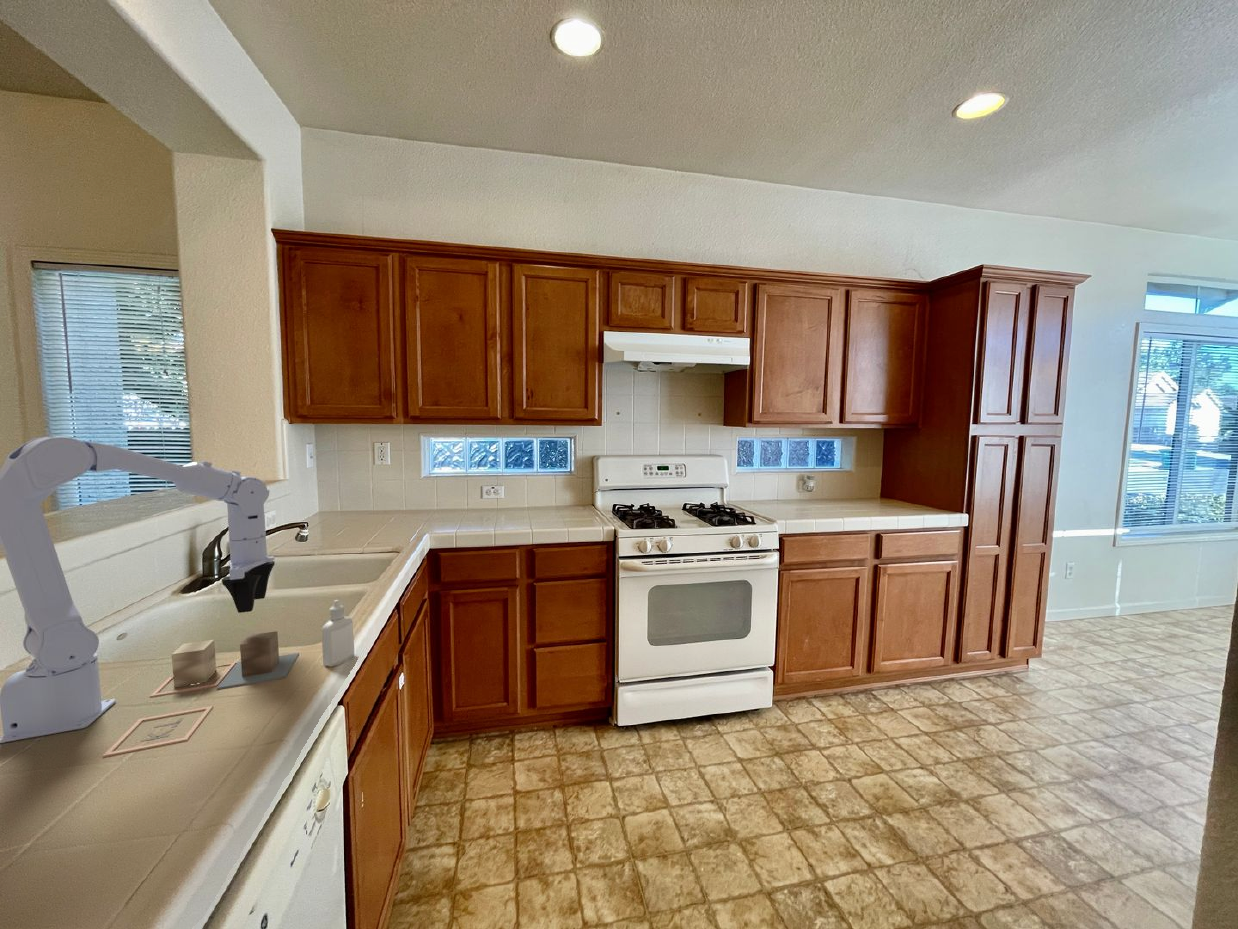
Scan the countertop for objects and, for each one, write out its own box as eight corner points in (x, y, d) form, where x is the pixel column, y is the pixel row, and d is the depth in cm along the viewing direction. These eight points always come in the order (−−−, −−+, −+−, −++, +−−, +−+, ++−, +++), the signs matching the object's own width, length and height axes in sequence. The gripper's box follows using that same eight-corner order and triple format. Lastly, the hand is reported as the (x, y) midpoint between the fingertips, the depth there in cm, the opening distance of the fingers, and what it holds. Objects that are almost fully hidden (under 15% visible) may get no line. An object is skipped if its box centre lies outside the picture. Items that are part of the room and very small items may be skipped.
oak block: (174, 687, 84) (171, 654, 84) (186, 675, 88) (183, 643, 88) (206, 682, 86) (203, 649, 85) (216, 670, 90) (214, 639, 89)
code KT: (102, 758, 66) (102, 755, 66) (139, 720, 74) (139, 719, 74) (187, 741, 69) (187, 739, 69) (213, 707, 78) (213, 705, 78)
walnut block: (242, 677, 87) (239, 644, 86) (251, 665, 91) (249, 635, 91) (271, 672, 88) (269, 640, 88) (279, 661, 93) (277, 631, 92)
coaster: (216, 690, 83) (216, 687, 83) (237, 664, 92) (237, 662, 92) (285, 678, 87) (285, 676, 87) (298, 654, 96) (298, 653, 96)
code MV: (149, 697, 81) (149, 696, 81) (176, 672, 89) (175, 671, 89) (217, 686, 84) (217, 685, 84) (236, 663, 93) (236, 661, 93)
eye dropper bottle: (358, 659, 94) (355, 599, 93) (325, 669, 90) (322, 607, 89) (352, 652, 97) (349, 594, 96) (320, 661, 93) (316, 601, 92)
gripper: (260, 543, 89) (265, 614, 90) (282, 528, 103) (285, 591, 103) (213, 547, 86) (218, 620, 87) (241, 531, 100) (246, 595, 101)
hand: (252, 605), depth 95 cm, fingers open, 7 cm apart
